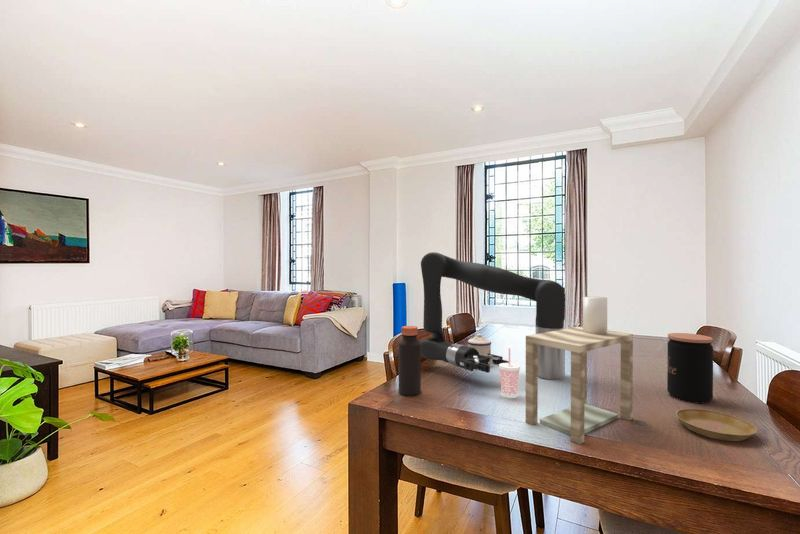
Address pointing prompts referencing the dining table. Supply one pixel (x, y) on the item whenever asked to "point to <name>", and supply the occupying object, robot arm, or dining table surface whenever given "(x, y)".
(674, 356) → the coffee jar
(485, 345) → the beige lidded canister
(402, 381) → the bottle
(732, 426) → the plant saucer
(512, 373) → the beverage cup
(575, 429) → the stand
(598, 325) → the candle
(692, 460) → the dining table surface
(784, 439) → the dining table surface
